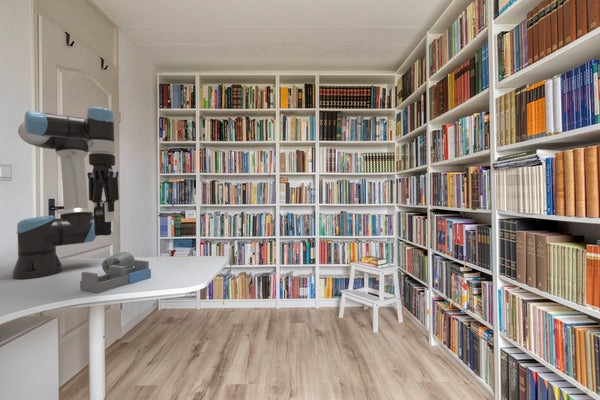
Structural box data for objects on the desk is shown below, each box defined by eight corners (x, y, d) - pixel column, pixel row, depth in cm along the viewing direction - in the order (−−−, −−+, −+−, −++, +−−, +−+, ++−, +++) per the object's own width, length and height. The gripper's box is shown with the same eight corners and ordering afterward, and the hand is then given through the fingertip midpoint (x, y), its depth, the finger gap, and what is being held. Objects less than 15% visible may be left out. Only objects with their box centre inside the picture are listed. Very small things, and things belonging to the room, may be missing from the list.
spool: (120, 269, 113) (113, 246, 116) (98, 281, 114) (92, 257, 117) (144, 269, 127) (137, 248, 129) (125, 279, 127) (118, 258, 130)
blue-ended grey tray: (80, 289, 100) (79, 272, 100) (135, 274, 119) (134, 259, 118) (98, 293, 96) (97, 275, 96) (152, 277, 115) (151, 261, 114)
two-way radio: (92, 236, 101) (90, 192, 101) (101, 234, 106) (99, 192, 106) (107, 235, 101) (105, 191, 101) (116, 234, 106) (114, 191, 105)
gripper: (74, 154, 103) (77, 221, 104) (107, 150, 95) (110, 223, 96) (97, 156, 110) (99, 219, 111) (129, 153, 102) (131, 221, 103)
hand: (104, 221), depth 103 cm, fingers closed on two-way radio, 5 cm apart
